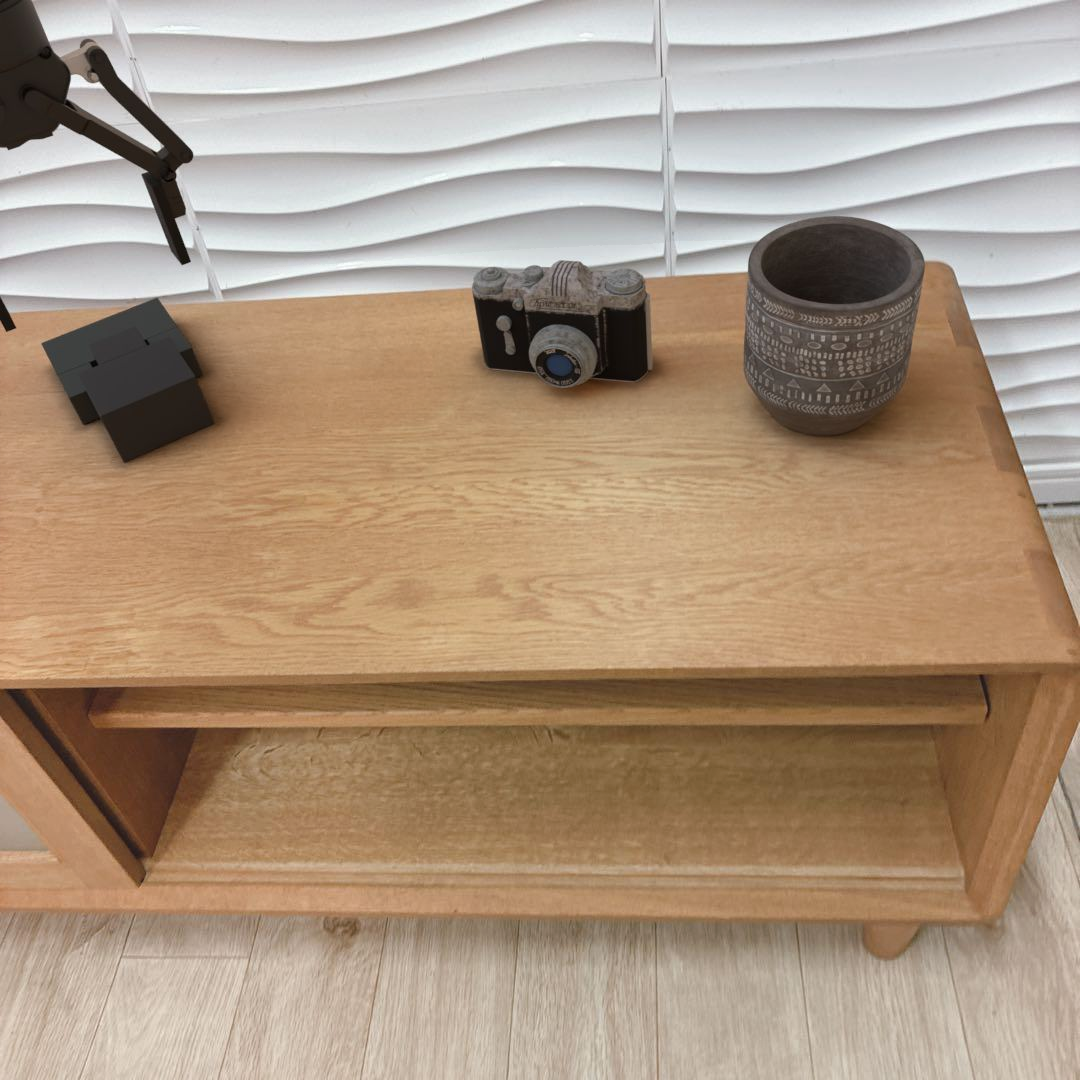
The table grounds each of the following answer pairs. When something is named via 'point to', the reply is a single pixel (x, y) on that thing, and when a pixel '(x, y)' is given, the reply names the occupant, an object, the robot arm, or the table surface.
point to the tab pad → (144, 393)
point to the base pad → (73, 347)
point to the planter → (830, 321)
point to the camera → (565, 322)
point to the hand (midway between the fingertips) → (96, 289)
